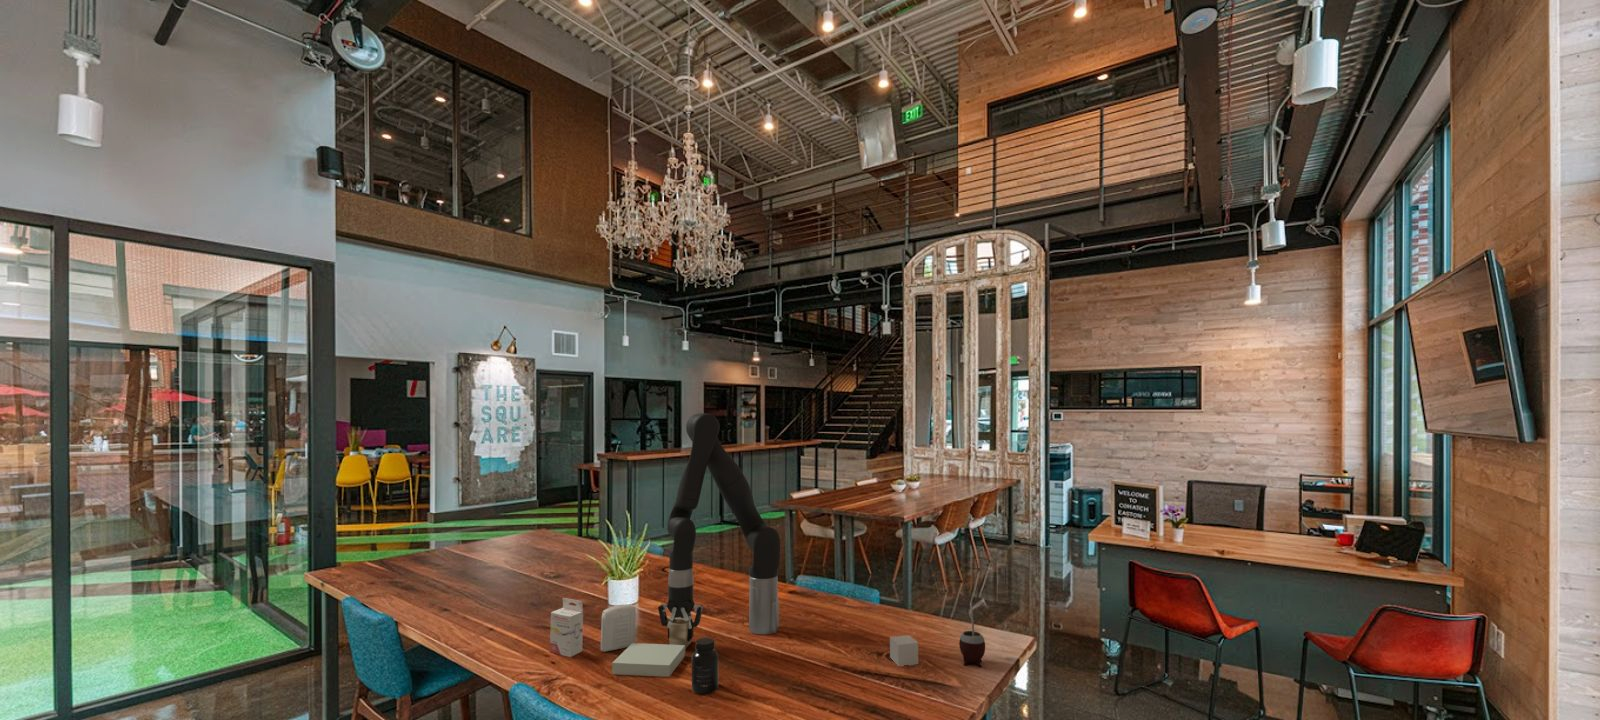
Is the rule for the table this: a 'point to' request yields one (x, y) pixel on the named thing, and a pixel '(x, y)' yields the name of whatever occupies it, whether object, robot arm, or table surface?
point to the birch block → (678, 632)
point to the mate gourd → (972, 645)
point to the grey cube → (904, 650)
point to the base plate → (649, 660)
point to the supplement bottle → (705, 667)
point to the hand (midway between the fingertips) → (680, 639)
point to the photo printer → (618, 627)
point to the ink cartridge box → (567, 629)
